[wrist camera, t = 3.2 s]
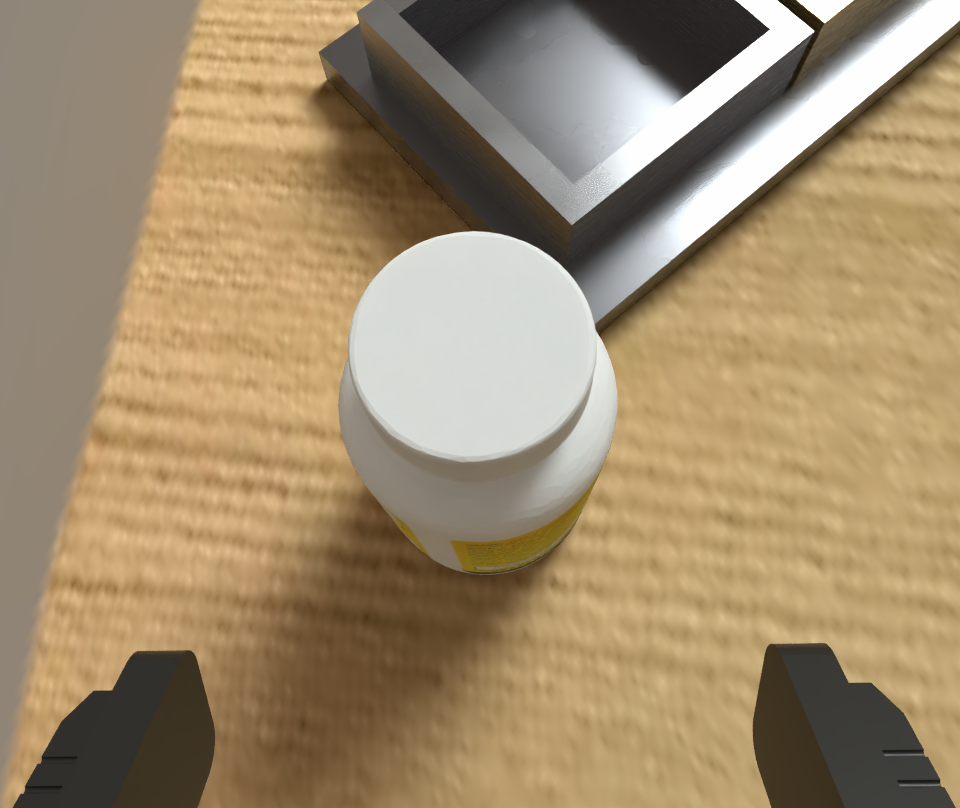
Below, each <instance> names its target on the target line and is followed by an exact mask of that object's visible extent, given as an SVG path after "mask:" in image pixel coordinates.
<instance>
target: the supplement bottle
mask: <svg viewBox="0 0 960 808" xmlns="http://www.w3.org/2000/svg"><path fill="white" fill-rule="evenodd" d="M338 407H339V421H340V427H341V432H342V437H343V441H344V444H345V447H346V450H347V453H348V455H349V457H350V460H351V462H352V464H353V466H354V468H355V469H356V472H357V474H358V475H359V477H360V479H361V480H362V482H363V483H364V484H365V486H366V487H367V489H368V490H369V491H370V492H371V494H372V495H373V496H374V497H375V498H376V500H377V501H378V502H379V503H380V505H381V506H382V507H383V508H384V509H385V511H386V512H387V513H388V515H389V516H390V517H391V518H392V520H393V521H394V522H395V524H396V525H397V526H398V528H399V529H400V530H401V531H402V532H403V534H404V535H405V536H406V537H407V538H408V539H409V541H410V542H411V543H412V544H413V545H414V546H416V547H417V548H418V549H419V550H420V551H421V552H423V553H424V554H425V555H427V556H428V557H429V558H431V559H433V560H434V561H436V562H438V563H440V564H441V565H443V566H446V567H448V568H451V569H454V570H457V571H460V572H464V573H470V574H478V575H494V574H502V573H507V572H512V571H516V570H519V569H522V568H525V567H527V566H529V565H531V564H533V563H535V562H537V561H538V560H540V559H542V558H543V557H545V556H546V555H547V554H549V553H550V552H551V551H552V550H553V549H555V548H556V547H557V546H558V545H559V544H560V543H561V542H562V541H563V540H564V538H565V537H566V536H567V535H568V533H569V532H570V531H571V529H572V528H573V526H574V525H575V523H576V521H577V520H578V518H579V516H580V514H581V512H582V509H583V507H584V505H585V503H586V501H587V499H588V497H589V495H590V493H591V491H592V489H593V486H594V484H595V482H596V480H597V478H598V476H599V473H600V471H601V468H602V466H603V464H604V461H605V459H606V457H607V454H608V452H609V449H610V446H611V442H612V438H613V434H614V429H615V424H616V417H617V388H616V381H615V375H614V371H613V367H612V364H611V361H610V358H609V356H608V353H607V351H606V348H605V346H604V344H603V342H602V340H601V338H600V337H599V335H598V333H597V332H596V330H595V324H594V320H593V317H592V313H591V310H590V308H589V305H588V302H587V300H586V298H585V296H584V294H583V292H582V291H581V289H580V288H579V286H578V285H577V283H576V282H575V280H574V279H573V278H572V277H571V275H570V274H569V273H568V272H567V271H566V270H565V269H564V268H563V267H562V266H561V265H560V264H559V263H558V262H557V261H555V260H554V259H553V258H552V257H550V256H549V255H548V254H546V253H544V252H543V251H541V250H540V249H538V248H537V247H535V246H533V245H531V244H529V243H527V242H524V241H521V240H518V239H516V238H513V237H510V236H506V235H502V234H497V233H490V232H478V231H471V232H458V233H451V234H447V235H442V236H437V237H434V238H431V239H428V240H426V241H423V242H421V243H418V244H416V245H415V246H413V247H411V248H409V249H407V250H405V251H404V252H402V253H401V254H400V255H398V256H397V257H395V258H394V259H393V260H392V261H390V262H389V263H388V264H387V265H386V266H385V267H384V268H383V269H382V270H381V271H380V272H379V273H378V274H377V275H376V276H375V278H374V279H373V280H372V281H371V282H370V284H369V285H368V287H367V288H366V290H365V291H364V293H363V294H362V297H361V299H360V301H359V303H358V305H357V307H356V310H355V313H354V315H353V318H352V322H351V326H350V331H349V338H348V359H347V361H346V364H345V368H344V371H343V375H342V379H341V384H340V391H339V404H338Z"/></svg>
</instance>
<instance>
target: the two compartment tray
mask: <svg viewBox="0 0 960 808" xmlns="http://www.w3.org/2000/svg"><path fill="white" fill-rule="evenodd" d="M357 15H358V20H359V24H358V25H356V26H355V27H354V28H352V29H351V30H349V31H348V32H346V33H345V34H344V35H342V36H341V37H339V38H338V39H337V40H335V41H334V42H332V43H331V44H329V45H328V46H327V47H325V48H324V49H322V50H321V51H320V52H319V55H320V59H321V62H322V65H323V68H324V71H325V75H326V78H327V79H328V80H329V81H330V83H331V84H332V85H333V86H334V87H335V88H336V89H337V90H338V91H339V92H340V93H341V94H342V95H343V96H344V97H345V98H346V99H347V100H348V101H349V102H350V103H351V104H352V105H353V106H354V107H355V108H356V109H357V110H358V112H359V113H360V114H361V115H362V116H363V117H364V118H365V119H366V120H367V121H368V122H369V123H370V124H371V125H372V126H373V127H374V128H375V129H376V130H377V131H378V132H379V133H380V134H381V135H382V136H383V137H384V138H385V139H386V141H387V142H388V143H389V144H390V145H391V146H392V147H393V148H394V149H395V150H396V151H397V152H398V153H399V154H400V155H401V156H402V157H403V158H404V159H405V160H406V161H407V162H408V163H409V164H410V165H411V166H412V167H413V169H414V170H415V171H416V172H417V173H418V174H419V175H420V176H421V177H422V178H423V179H424V180H425V181H426V182H427V183H428V184H429V185H430V186H431V187H432V188H433V189H434V190H435V191H436V192H437V193H438V194H439V195H440V196H441V198H442V199H443V200H444V201H445V202H446V203H447V204H448V205H449V206H450V207H451V208H452V209H453V210H454V211H455V212H456V213H457V214H458V215H459V216H460V217H461V218H462V219H463V220H464V221H465V222H466V223H467V224H468V226H469V227H470V228H471V229H472V230H473V231H478V232H490V233H497V234H502V235H506V236H510V237H513V238H516V239H518V240H521V241H524V242H527V243H529V244H531V245H533V246H535V247H537V248H538V249H540V250H541V251H543V252H544V253H546V254H548V255H549V256H550V257H552V258H553V259H554V260H555V261H557V262H558V263H559V264H560V265H561V266H562V267H563V268H564V269H565V270H566V271H567V272H568V273H569V274H570V275H571V277H572V278H573V279H574V280H575V282H576V283H577V285H578V286H579V288H580V289H581V291H582V292H583V294H584V296H585V298H586V300H587V302H588V305H589V308H590V310H591V313H592V317H593V320H594V324H595V330H596V332H597V333H600V332H601V331H602V330H603V329H604V328H606V327H607V326H608V325H609V324H610V323H612V322H613V321H614V320H615V319H616V318H618V317H619V316H620V315H621V314H622V313H624V312H625V311H626V310H627V309H628V308H630V307H631V306H632V305H633V304H634V303H636V302H637V301H638V300H639V299H640V298H642V297H643V296H644V295H645V294H646V293H648V292H649V291H650V290H651V289H652V288H654V287H655V286H656V285H657V284H658V283H659V282H661V281H662V280H663V279H664V278H665V277H667V276H668V275H669V274H670V273H671V272H673V271H674V270H675V269H676V268H677V267H679V266H680V265H681V264H682V263H683V262H685V261H686V260H687V259H688V258H689V257H691V256H692V255H693V254H694V253H695V252H697V251H698V250H699V249H700V248H701V247H703V246H704V245H705V244H706V243H707V242H709V241H710V240H711V239H712V238H713V237H715V236H716V235H717V234H718V233H719V232H721V231H722V230H723V229H724V228H725V227H727V226H728V225H729V224H730V223H731V222H732V221H734V220H735V219H736V218H737V217H738V216H740V215H741V214H742V213H743V212H744V211H746V210H747V209H748V208H749V207H750V206H752V205H753V204H754V203H755V202H756V201H758V200H759V199H760V198H761V197H762V196H764V195H765V194H766V193H767V192H768V191H770V190H771V189H772V188H773V187H774V186H776V185H777V184H778V183H779V182H780V181H782V180H783V179H784V178H785V177H786V176H788V175H789V174H790V173H791V172H792V171H794V170H795V169H796V168H797V167H798V166H800V165H801V164H802V163H803V162H804V161H805V160H807V159H808V158H809V157H810V156H811V155H813V154H814V153H815V152H816V151H817V150H819V149H820V148H821V147H822V146H823V145H825V144H826V143H827V142H828V141H829V140H831V139H832V138H833V137H834V136H835V135H837V134H838V133H839V132H840V131H841V130H843V129H844V128H845V127H846V126H847V125H849V124H850V123H851V122H852V121H853V120H855V119H856V118H857V117H858V116H859V115H861V114H862V113H863V112H864V111H865V110H867V109H868V108H869V107H870V106H871V105H872V104H874V103H875V102H876V101H877V100H878V99H880V98H881V97H882V96H883V95H884V94H886V93H887V92H888V91H889V90H890V89H892V88H893V87H894V86H895V85H896V84H898V83H899V82H900V81H901V80H902V79H904V78H905V77H906V76H907V75H908V74H910V73H911V72H912V71H913V70H914V69H916V68H917V67H918V66H919V65H920V64H922V63H923V62H924V61H925V60H926V59H928V58H929V57H930V56H931V55H932V54H934V53H935V52H936V51H937V50H938V49H940V48H941V47H942V46H943V45H944V44H945V43H947V42H948V41H949V40H950V39H951V38H953V37H954V36H955V35H956V34H957V33H959V32H960V0H373V1H372V2H371V3H369V4H368V5H366V6H365V7H363V8H362V9H361V10H359V11H358V12H357Z"/></svg>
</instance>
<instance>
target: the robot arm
mask: <svg viewBox="0 0 960 808" xmlns="http://www.w3.org/2000/svg"><path fill="white" fill-rule="evenodd" d="M753 742H754V750H755V756H756V761H757V765H758V768H759V771H760V774H761V777H762V780H763V783H764V786H765V789H766V792H767V795H768V798H769V801H770V804H771V807H772V808H956V807H955V806H954V804H953V802H952V800H951V798H950V797H949V795H948V793H947V791H946V789H945V787H941V784H940V778H939V777H938V775H937V773H936V771H935V769H934V767H933V766H932V764H931V762H930V760H929V758H928V757H925V756H924V752H923V751H924V749H923V747H922V746H921V744H920V742H919V740H918V738H917V737H916V735H915V733H914V731H913V729H912V727H911V726H910V724H909V722H908V720H907V718H906V717H905V715H904V713H903V712H902V711H901V710H900V709H899V708H897V707H896V706H895V705H894V704H893V703H892V702H891V701H890V700H889V699H888V698H887V697H886V696H885V695H884V694H883V693H882V692H881V691H879V690H878V689H877V688H876V687H875V686H874V685H873V684H872V683H848V681H847V679H846V677H845V675H844V673H843V671H842V669H841V667H840V665H839V663H838V661H837V658H836V656H835V654H834V653H833V651H832V649H831V648H830V647H829V646H828V645H827V644H825V643H809V644H770V645H769V646H768V647H767V649H766V652H765V657H764V662H763V668H762V673H761V679H760V684H759V690H758V696H757V701H756V707H755V712H754V718H753ZM214 746H215V730H214V724H213V719H212V715H211V712H210V708H209V704H208V700H207V696H206V693H205V689H204V685H203V681H202V677H201V674H200V670H199V666H198V662H197V659H196V656H195V654H194V653H193V652H192V651H190V650H185V651H137V652H135V653H134V654H133V655H132V656H131V657H130V658H129V660H128V661H127V663H126V665H125V667H124V669H123V671H122V673H121V675H120V677H119V679H118V681H117V682H116V684H115V686H114V688H113V690H112V691H93V692H92V693H91V694H90V695H89V696H88V697H87V698H86V699H85V700H84V701H83V702H81V703H80V704H79V705H78V706H77V707H76V708H75V709H74V710H73V711H72V712H71V713H70V714H69V715H68V716H67V717H66V718H65V719H64V720H63V721H62V722H61V723H60V725H59V727H58V729H57V731H56V732H55V734H54V736H53V738H52V739H51V741H50V743H49V745H48V746H47V748H46V750H45V752H44V754H43V755H42V761H41V764H37V766H36V768H35V769H34V771H33V773H32V775H31V776H30V778H29V780H28V782H27V784H26V785H25V792H24V794H20V796H19V798H18V799H17V801H16V803H15V805H14V807H13V808H197V807H198V805H199V802H200V799H201V796H202V793H203V790H204V787H205V784H206V781H207V779H208V776H209V773H210V769H211V766H212V761H213V755H214Z"/></svg>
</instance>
